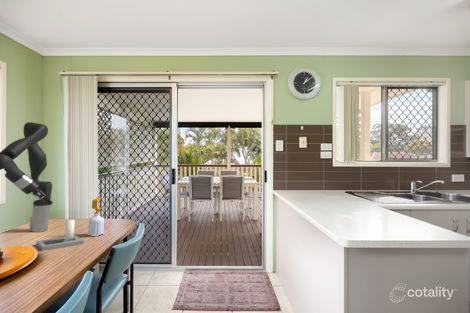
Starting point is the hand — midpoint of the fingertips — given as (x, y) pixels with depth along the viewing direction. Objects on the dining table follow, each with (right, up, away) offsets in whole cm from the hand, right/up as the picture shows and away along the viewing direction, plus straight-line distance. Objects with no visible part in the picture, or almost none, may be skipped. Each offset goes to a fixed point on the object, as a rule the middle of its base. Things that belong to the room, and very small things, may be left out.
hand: (49, 202), depth 151 cm
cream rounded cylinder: (+11, -23, 0) cm, 26 cm away
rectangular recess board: (+8, -23, -3) cm, 25 cm away
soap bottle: (+17, -25, +19) cm, 36 cm away
